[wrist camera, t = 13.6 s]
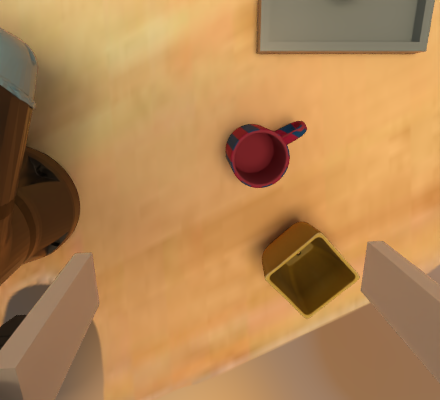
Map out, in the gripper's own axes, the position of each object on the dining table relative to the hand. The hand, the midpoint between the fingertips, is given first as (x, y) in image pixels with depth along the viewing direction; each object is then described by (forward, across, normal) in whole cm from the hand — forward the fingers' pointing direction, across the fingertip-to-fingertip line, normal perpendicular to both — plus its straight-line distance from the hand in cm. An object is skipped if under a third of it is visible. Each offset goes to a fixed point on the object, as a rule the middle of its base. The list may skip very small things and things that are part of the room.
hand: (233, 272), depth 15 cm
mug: (+29, -7, -2) cm, 30 cm away
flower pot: (+29, -12, +13) cm, 34 cm away
